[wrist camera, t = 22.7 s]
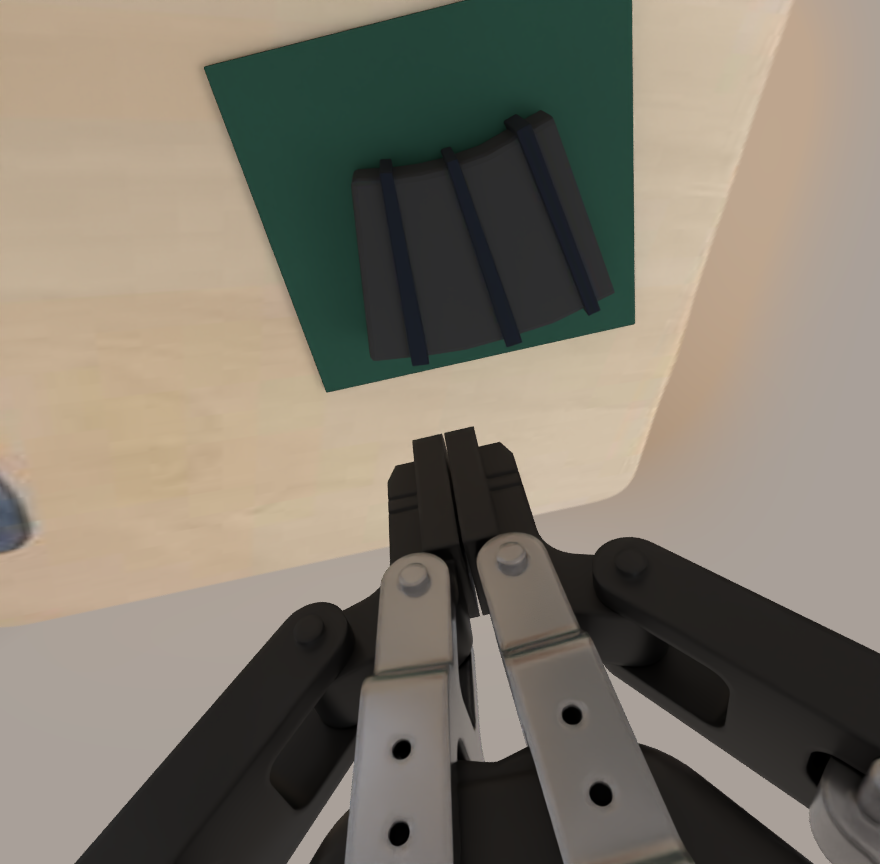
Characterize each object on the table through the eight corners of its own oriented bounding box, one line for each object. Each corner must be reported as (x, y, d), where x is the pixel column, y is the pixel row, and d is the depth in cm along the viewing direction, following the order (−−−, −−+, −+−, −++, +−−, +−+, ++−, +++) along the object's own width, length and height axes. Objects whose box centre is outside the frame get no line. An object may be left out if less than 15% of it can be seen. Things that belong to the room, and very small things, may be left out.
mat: (205, 66, 30) (203, 66, 30) (628, -42, 29) (631, -43, 29) (327, 389, 42) (326, 392, 41) (632, 321, 40) (635, 324, 40)
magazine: (401, 408, 38) (619, 301, 35) (278, 227, 31) (539, 73, 28) (399, 379, 41) (600, 279, 38) (287, 208, 34) (523, 68, 31)
